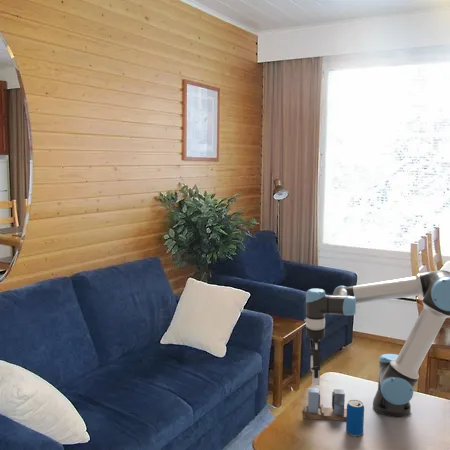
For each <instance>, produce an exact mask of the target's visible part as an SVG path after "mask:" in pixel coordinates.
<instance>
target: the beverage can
mask: <svg viewBox="0 0 450 450" xmlns="http://www.w3.org/2000/svg"><path fill="white" fill-rule="evenodd" d="M347 402H348V403H346V409H347V415H346V421H345V431H346V432H347V434H348V435H350V436H352V437H353V436H354V437H359V436H361V435H363V434H364V423H365V421H364V420H365V405H364V402H362V401H361V400H358V399H350V400H348V401H347Z"/></svg>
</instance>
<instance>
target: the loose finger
mask: <svg viewBox="0 0 450 450" xmlns="http://www.w3.org/2000/svg"><path fill="white" fill-rule="evenodd" d="M307 393H308V396H307V397H308V398H307V406H308V413H318V408H319V409H320V406H321V391H320V390H319V388H318V387H308V390H307Z"/></svg>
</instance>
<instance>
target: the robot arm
mask: <svg viewBox="0 0 450 450" xmlns="http://www.w3.org/2000/svg"><path fill="white" fill-rule="evenodd" d="M415 296H417V297H418V296H419V297H421V298H423V299H422V300H421V302H422V305H423V308H422V310H421V312H420V314H419V315H418V318H417V319H416V320H415V323H414V325H413V326H412V329H411V330H410V333H409V335H408V336H407V338H406V340H405V342H404V344H403V346H402V348H401V350H400V352H399V354H395V353H384V354H381V355H379V360H378V378H377V379H378V381H377V382H378V383H377V386H378V387H377V391H376V393H375V396H374V398H373V399H372V407H373V409H374V410H375V411H376V412H378V413H379V414H381V415H383V416H387V417H392V418H401V417H402V418H403V417H406V416H409V415H410V414H411V409H412V408H411V402H410V401H411V400H412V399H413V396H414V387H415V386H416V383H417V382H418V380H419V378H420V375H419V373H418V371H419V369H420V367H421V366H422V363H423V361H424V359H425V358H426V355H427V354H428V352H429V350H430V348H431V346H432V345H433V343H434V341H435V339H436V338H437V335H438V334H439V332H440V330H441V328H442V327H443V325H444V322H445V321H446V319H448V318H450V271H449V270H443V269H440V270H439V269H438V270H432V271H426V272H420V273H417V274H416V275H414V276H409V277H404V278H398V279H391V280H390V279H389V280H384V281H379V282H378V281H377V282H371V283H365V284H359V285H352V286H345V285H339V286H337V287H335V288H334V290H333V292H332V294H331V295H330V294H326V291H325V289H323V288H310V289H309V288H308V290H307V291H306V294H305V318H304V320H303V321H304V322H305V325H306V327H305V336H306V338H308V339H310V340H309V344H310V345H309V346H310V347H309V348H310V349H309V350H310V371H311V372H312V377H311V378H312V380H311V382H312V383H311V384H312V386H320V380H321V379H320V373H321V372H320V370H321V360H320V358H321V357H320V354H321V340H322V339H324V338H325V337H326V335H325V334H326V332H325V331H326V330H325V327H326V315H338V316H355V315H356V313H357V311H356V309H357V305H359V304H365V303H366V304H367V303H372V302H373V303H374V302H378V301H379V302H380V301H387V300H393V299H395V300H396V299H401V298H402V299H403V298H408V297H415Z"/></svg>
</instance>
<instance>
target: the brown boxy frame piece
mask: <svg viewBox="0 0 450 450" xmlns="http://www.w3.org/2000/svg"><path fill="white" fill-rule="evenodd" d="M331 392H332V394H331V407H324V405H323V404H320V409H319V408H318V413H308V405H307V403H303V419H310V420H311V419H312V420H314V419H315V420H332V421H333V420H334V421H345V422H346V415H347V408H345V401H346V399H345V397H346V393H345V390H344V389H341V388H340V389H337V388H333V391H331Z"/></svg>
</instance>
